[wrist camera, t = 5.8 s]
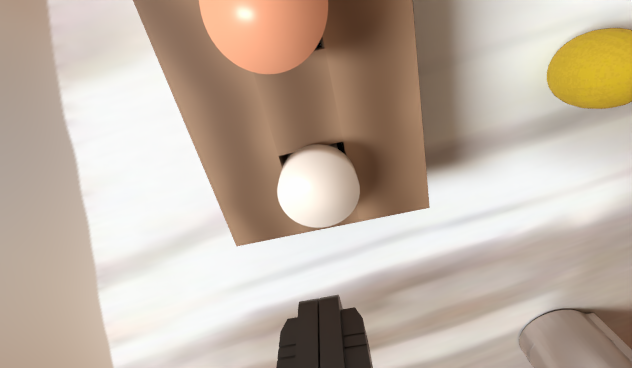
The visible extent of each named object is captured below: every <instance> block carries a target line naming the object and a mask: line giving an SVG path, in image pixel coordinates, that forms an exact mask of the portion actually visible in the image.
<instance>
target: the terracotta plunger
mask: <svg viewBox="0 0 632 368" xmlns="http://www.w3.org/2000/svg"><path fill="white" fill-rule="evenodd" d="M199 5H200V11H201V15H202V19H203V22H204V25H205V27H206V30H207V32H208V34H209V36H210V38H211V39H212V41H213V42H214V44H215V45H216V47H217V48H218V49H219V50H220V51H221V53H222V54H223V55H224V56H226V57H227V58H228V59H229V60H230V61H232V62H233V63H234V64H236V65H237V66H239V67H241V68H243V69H245V70H248V71H251V72H255V73H259V74H277V73H282V72H285V71H288V70H291V69H293V68H295V67H296V66H298V65H299V64H301V63H302V62H304V61H305V60H306V59H307V58H308V57H309V56H310V55H311V54H312V52H313V51H314V50H315V48H316V47H317V45H318V44H319V42H320V40H321V38H322V35H323V32H324V30H325V26H326V22H327V16H328V0H199Z"/></svg>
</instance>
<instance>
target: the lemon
mask: <svg viewBox="0 0 632 368" xmlns="http://www.w3.org/2000/svg"><path fill="white" fill-rule="evenodd" d="M547 82H548V86H549V88H550V90H551V91H552V93H553V94H554V95H555V96H556V97H557V98H559V99H560V100H562V101H563V102H565V103H567V104H570V105H574V106H577V107H581V108H592V109H603V108H612V107H617V106H621V105H625V104H627V103H630V102H632V30H629V29H622V28H608V29H600V30H594V31H591V32H588V33H585V34H583V35H580V36H577V37H576V38H574V39H572V40H571V41H569V42H568V43H566V44H565V45H564V46H563V47H561V48H560V49H559V50H558V51H557V53H556V54H555V55H554V57H553V58H552V60H551V62H550V64H549V66H548V70H547Z"/></svg>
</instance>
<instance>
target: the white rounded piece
mask: <svg viewBox="0 0 632 368" xmlns="http://www.w3.org/2000/svg"><path fill="white" fill-rule="evenodd" d="M277 194H278V200H279V203H280V205H281V207H282V209H283V211H284V212H285V213H286V214H287V215H288V216H289V217H290V218H291V219H292V220H294V221H295V222H297V223H299V224H301V225H304V226H308V227H314V228H323V227H329V226H332V225H335V224H337V223H339V222H341V221H343V220H344V219H346V218H347V217H348V216H349V215H350V214H351V213H352V212H353V210H354V209H355V207H356V205H357V203H358V200H359V195H360V186H359V181H358V178H357V175H356V172H355V169H354V166H353V164H352V162H351V161H350V159H349V158H348V157H347V156H346V155H345V154H344V153H343V152H341V151H340V150H338V148H337V143H334V144H329V145H321V144H315V145H309V146H305V147H303V148H300V149H298V150H297V151H295V152H294V153H289V154H288V158H287V160H286V161H285V163H284V165H283V167H282V170H281V174H280V178H279V182H278V188H277Z"/></svg>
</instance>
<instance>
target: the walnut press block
mask: <svg viewBox="0 0 632 368" xmlns="http://www.w3.org/2000/svg"><path fill="white" fill-rule="evenodd" d="M133 1H134V4H135V6H136V8H137V11H138V13H139V16H140V18H141V20H142V23H143V25H144V27H145V30H146V32H147V35H148V37H149V39H150V42H151V44H152V46H153V49H154V51H155V54H156V56H157V58H158V61H159V63H160V65H161V68H162V70H163V73H164V75H165V77H166V80H167V82H168V84H169V87H170V89H171V92H172V94H173V96H174V99H175V101H176V103H177V106H178V108H179V111H180V113H181V115H182V118H183V120H184V122H185V125H186V127H187V130H188V132H189V134H190V137H191V139H192V141H193V144H194V146H195V149H196V151H197V153H198V156H199V158H200V160H201V163H202V165H203V167H204V170H205V172H206V175H207V177H208V179H209V182H210V184H211V186H212V189H213V191H214V194H215V196H216V198H217V201H218V203H219V205H220V208H221V210H222V213H223V215H224V217H225V220H226V222H227V224H228V227H229V229H230V232H231V234H232V236H233V239H234V241H235V243H236V246H240V245H245V244H250V243H255V242H260V241H265V240H270V239H275V238H280V237H285V236H290V235H295V234H300V233H305V232H310V231H315V230H320V229H325V228H330V227H335V226H340V225H345V224H350V223H355V222H360V221H365V220H370V219H375V218H380V217H385V216H390V215H395V214H400V213H405V212H410V211H415V210H420V209H425V208H429V197H428V185H427V173H426V160H425V148H424V136H423V124H422V111H421V99H420V87H419V75H418V62H417V50H416V38H415V26H414V13H413V1H412V0H328V16H327V22H326V26H325V30H324V32H323V35H322V38H321V40H320V41H321V45H322V46H321V47H317V48H315V50H314V51H313V52H312V54H311V55H310V56H309V57H308V58H307V59H306V60H305V61H304V62H302V63H301V64H299V65H298V66H296V67H295V68H293V69H291V70H288V71H285V72H282V73H277V74H259V73H255V72H251V71H248V70H245V69H243V68H241V67H239V66H237V65H236V64H234V63H233V62H232V61H230V60H229V59H228V58H227V57H226V56H224V55H223V54H222V53H221V51H220V50H219V49H218V48H217V47H216V45H215V44H214V42H213V41H212V39H211V38H210V36H209V34H208V32H207V30H206V27H205V25H204V22H203V19H202V15H201V11H200V5H199V0H133ZM338 142H341V144H342V149H343V153H344V154H345V155H346V156H347V157H348V158H349V159H350V161H351V162H352V164H353V166H354V169H355V172H356V175H357V178H358V181H359V186H360V195H359V200H358V203H357V205H356V207H355V209H354V210H353V212H352V213H351V214H350V215H349V216H348V217H347V218H346V219H344V220H343V221H341V222H339V223H337V224H335V225H332V226H329V227H323V228H314V227H308V226H304V225H301V224H299V223H297V222H295V221H294V220H292V219H291V218H290V217H289V216H288V215H287V214H286V213H285V212H284V211H283V209H282V207H281V205H280V203H279V200H278V194H277V188H278V182H279V178H280V174H281V170H282V167H283V165H284V163H285V161H286V160H287V158H288V154H289V153H294V152H295V151H297V150H298V149H300V148H303V147H305V146H309V145H315V144H321V145H329V144H334V143H338Z"/></svg>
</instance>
